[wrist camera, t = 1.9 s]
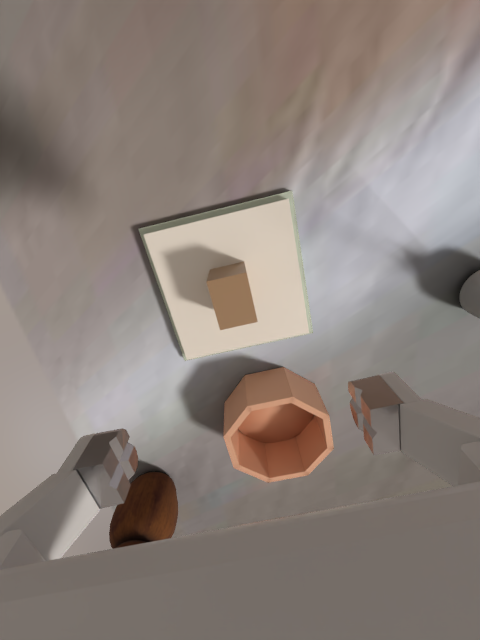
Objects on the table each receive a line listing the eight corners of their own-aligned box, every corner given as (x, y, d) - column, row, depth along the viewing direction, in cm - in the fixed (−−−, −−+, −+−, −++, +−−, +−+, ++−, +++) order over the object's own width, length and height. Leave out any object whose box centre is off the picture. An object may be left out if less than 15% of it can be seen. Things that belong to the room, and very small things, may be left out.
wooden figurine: (172, 459, 35) (133, 630, 21) (188, 491, 37) (162, 665, 23) (120, 471, 35) (48, 646, 21) (139, 502, 38) (84, 679, 24)
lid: (146, 233, 24) (127, 241, 20) (287, 198, 23) (299, 198, 19) (188, 355, 29) (180, 383, 24) (307, 329, 28) (321, 353, 24)
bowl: (217, 380, 31) (215, 412, 26) (311, 360, 30) (325, 390, 25) (239, 449, 34) (240, 488, 30) (322, 433, 34) (336, 469, 29)
